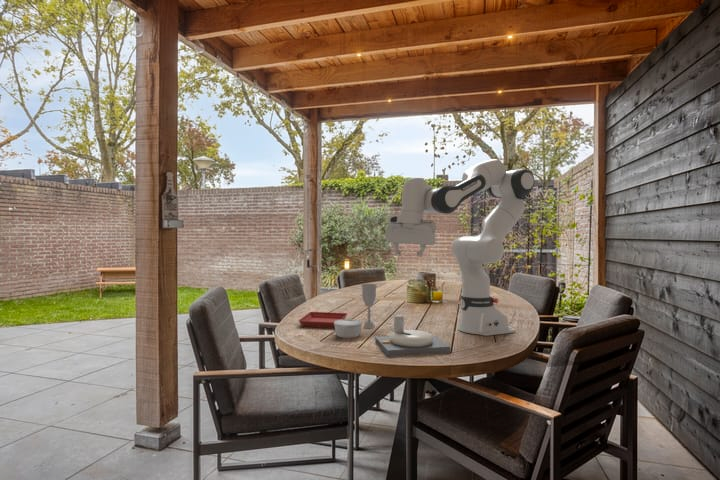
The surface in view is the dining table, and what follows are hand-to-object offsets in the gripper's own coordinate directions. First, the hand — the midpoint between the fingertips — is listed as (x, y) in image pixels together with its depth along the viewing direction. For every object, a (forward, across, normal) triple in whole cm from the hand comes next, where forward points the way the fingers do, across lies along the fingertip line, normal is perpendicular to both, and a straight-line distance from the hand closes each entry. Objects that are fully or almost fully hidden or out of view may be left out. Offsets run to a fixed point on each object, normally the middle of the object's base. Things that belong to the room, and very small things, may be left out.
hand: (408, 255), depth 157 cm
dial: (+30, -8, +8) cm, 32 cm away
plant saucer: (+34, +41, -2) cm, 53 cm away
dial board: (+32, -8, +8) cm, 34 cm away
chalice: (+32, +21, -8) cm, 39 cm away
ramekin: (+34, +20, +8) cm, 40 cm away
